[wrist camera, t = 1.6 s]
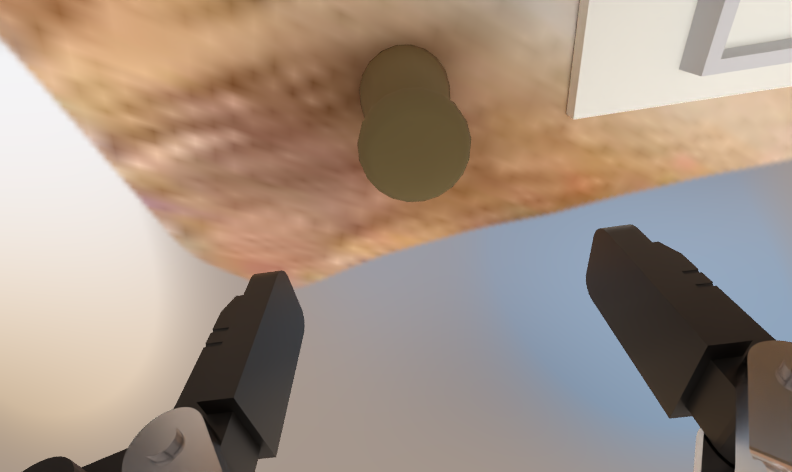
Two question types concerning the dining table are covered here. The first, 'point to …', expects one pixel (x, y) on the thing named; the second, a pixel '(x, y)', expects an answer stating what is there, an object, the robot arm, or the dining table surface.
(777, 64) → the board
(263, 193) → the dining table surface
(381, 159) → the olive tall rounded piece
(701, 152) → the dining table surface
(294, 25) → the dining table surface
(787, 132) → the dining table surface
